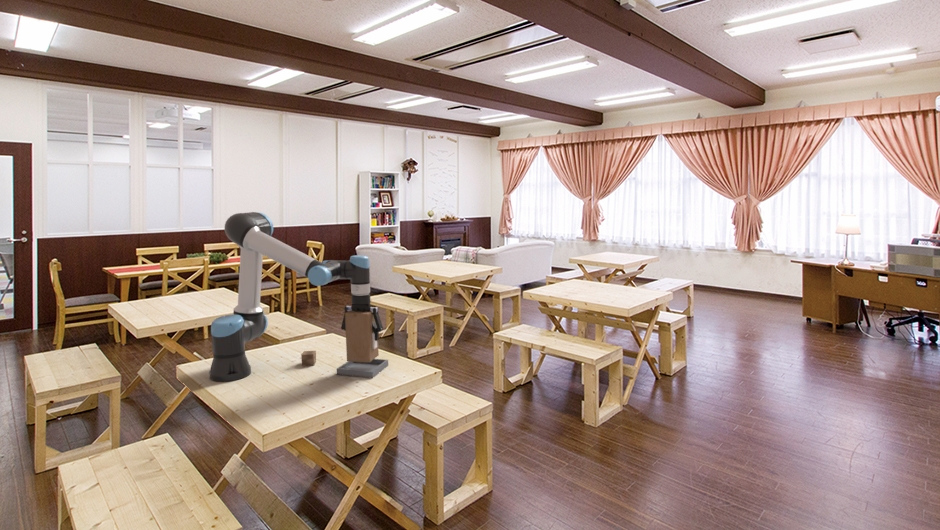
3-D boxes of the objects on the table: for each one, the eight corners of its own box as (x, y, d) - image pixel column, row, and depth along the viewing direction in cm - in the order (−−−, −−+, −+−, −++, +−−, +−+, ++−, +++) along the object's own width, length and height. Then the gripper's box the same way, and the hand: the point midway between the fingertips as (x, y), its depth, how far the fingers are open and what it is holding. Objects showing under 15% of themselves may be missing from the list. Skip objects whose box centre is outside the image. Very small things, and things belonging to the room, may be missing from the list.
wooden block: (369, 363, 206) (368, 314, 203) (346, 361, 208) (344, 313, 205) (379, 355, 215) (377, 308, 213) (356, 354, 217) (354, 307, 215)
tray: (336, 374, 207) (336, 368, 206) (354, 362, 222) (354, 357, 221) (372, 378, 203) (372, 371, 203) (388, 365, 218) (388, 359, 218)
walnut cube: (301, 366, 218) (301, 354, 217) (304, 362, 223) (303, 351, 222) (313, 365, 218) (313, 354, 218) (316, 361, 223) (315, 350, 222)
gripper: (330, 294, 207) (332, 348, 210) (383, 296, 202) (384, 351, 205) (339, 291, 214) (341, 342, 217) (390, 293, 209) (392, 346, 212)
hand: (362, 347), depth 211 cm, fingers closed on wooden block, 10 cm apart
